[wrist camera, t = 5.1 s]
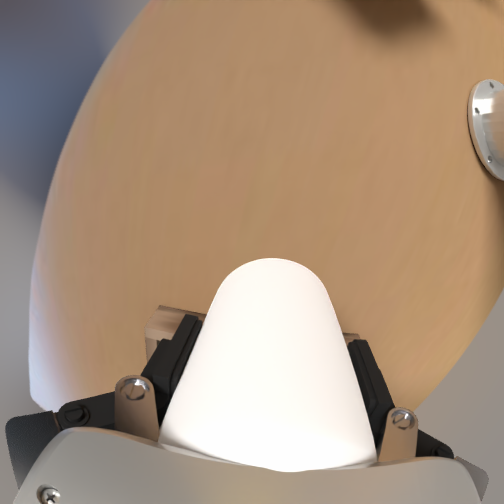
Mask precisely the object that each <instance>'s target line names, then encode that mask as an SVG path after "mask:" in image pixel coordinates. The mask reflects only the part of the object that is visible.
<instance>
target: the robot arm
mask: <svg viewBox="0 0 504 504" xmlns="http://www.w3.org/2000/svg"><path fill="white" fill-rule="evenodd" d="M468 122H469V127H470V133H471V137H472V140H473V144H474V146H475V149H476V152H477V154H478V156H479V158H480V160H481V162H482V163H483V165H484V166H485V168H486V169H487V170H488V171H489V172H490V173H491V175H493V176H494V177H495V178H497V179H499V180H502V181H504V85H503V84H502V83H500V82H498V81H496V80H492V79H487V80H483V81H480V82H479V83H477V84H476V85H475V86H474V87H473V89H472V91H471V93H470V97H469V101H468ZM202 323H203V322H202V320H199V318H198V316H194V315H190V314H185V316H184V317H183V319H182V321H181V323H180V325H179V326H178V328H177V330H176V332H175V334H174V335H173V337H172V339H171V340H169V339H165V338H163V339H162V340H161V341H160V343H159V344H158V346H157V348H156V349H155V351H154V353H153V354H152V356H151V358H150V360H149V361H148V363H147V365H146V366H145V368H144V370H143V372H142V373H141V375H140V376H138V375H130V376H126V377H123V378H122V379H120V380H119V381H118V382H117V384H116V387H115V391H114V392H110V393H106V394H102V395H98V396H94V397H90V398H85V399H81V400H77V401H72V402H69V403H66V404H64V405H63V406H62V407H61V408H60V409H59V412H55V413H53V411H52V410H51V411H46V412H41V413H36V414H30V415H24V416H18V417H13V418H11V419H10V420H9V421H8V422H7V423H6V426H5V433H6V439H7V444H8V449H9V454H10V459H11V463H12V467H13V471H14V475H15V479H16V482H17V485H18V489H19V492H18V493H17V495H16V498H15V499H14V502H13V503H12V504H481V501H482V499H483V496H484V493H485V491H486V488H487V484H488V480H489V478H488V475H487V473H486V472H485V471H484V470H483V469H480V468H479V467H477V466H475V465H473V464H471V463H469V462H467V461H465V460H464V459H462V458H460V457H458V456H457V457H456V458H454V454H453V452H452V450H451V448H450V447H449V446H447V445H446V444H444V443H442V442H440V441H438V440H437V439H434V438H433V437H431V436H430V435H428V434H426V433H424V432H422V431H421V430H419V429H418V419H417V417H416V415H415V414H414V413H413V412H412V411H410V410H409V409H406V408H403V407H397V408H395V406H394V403H393V401H392V398H391V396H390V393H389V391H388V388H387V385H386V383H385V381H384V378H383V376H382V373H381V371H380V369H379V368H378V366H377V364H376V361H375V359H374V356H373V354H372V352H371V349H370V347H369V345H368V342H367V341H366V340H360V339H354V340H353V341H352V342H349V343H348V345H347V349H348V352H349V355H350V358H351V362H352V365H353V368H354V371H355V374H356V378H357V381H358V384H359V388H360V391H361V394H362V398H363V401H364V405H365V408H366V412H367V416H368V420H369V423H370V427H371V431H372V435H373V439H374V444H375V449H376V454H377V462H372V463H360V464H356V465H351V466H345V467H339V468H331V469H319V470H305V471H300V472H281V471H275V470H271V469H267V468H264V467H256V466H250V465H245V464H240V463H235V462H230V461H226V460H222V459H219V458H215V457H211V456H208V455H205V454H202V453H199V452H195V451H191V450H186V449H182V448H178V447H174V446H170V445H166V444H162V443H159V442H158V440H159V436H160V432H159V430H160V427H161V425H162V422H163V419H164V417H165V414H166V412H167V409H168V407H169V404H170V402H171V399H172V397H173V394H174V392H175V390H176V388H177V385H178V383H179V380H180V378H181V375H182V373H183V371H184V368H185V366H186V363H187V361H188V359H189V356H190V354H191V351H192V349H193V347H194V344H195V342H196V339H197V337H198V335H199V332H200V330H201V328H202Z"/></svg>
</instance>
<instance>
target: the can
mask: <svg viewBox="0 0 504 504" xmlns="http://www.w3.org/2000/svg"><path fill="white" fill-rule="evenodd" d="M159 432H160V436H159V440H158V442H159V443H162V444H166V445H170V446H174V447H178V448H182V449H186V450H191V451H195V452H199V453H202V454H205V455H208V456H211V457H215V458H219V459H222V460H226V461H230V462H235V463H240V464H245V465H250V466H256V467H264V468H267V469H271V470H275V471H281V472H300V471H305V470H319V469H331V468H339V467H345V466H351V465H356V464H360V463H372V462H377V454H376V449H375V444H374V439H373V435H372V431H371V427H370V423H369V420H368V416H367V412H366V408H365V405H364V401H363V398H362V394H361V391H360V388H359V384H358V381H357V378H356V374H355V371H354V368H353V365H352V362H351V358H350V355H349V352H348V349H347V346H346V343H345V340H344V337H343V334H342V331H341V328H340V326H339V323H338V320H337V317H336V314H335V311H334V309H333V306H332V303H331V301H330V298H329V296H328V293H327V291H326V289H325V287H324V285H323V284H322V282H321V281H320V279H319V278H318V277H317V276H316V275H315V274H314V273H313V272H311V271H310V270H309V269H307V268H306V267H304V266H302V265H300V264H298V263H296V262H293V261H289V260H285V259H278V258H267V259H259V260H255V261H252V262H249V263H246V264H244V265H242V266H240V267H239V268H237V269H236V270H234V271H233V272H232V273H231V274H229V275H228V276H227V278H226V279H225V280H224V281H223V283H222V284H221V286H220V287H219V289H218V291H217V293H216V295H215V298H214V300H213V302H212V304H211V307H210V309H209V311H208V313H207V316H206V318H205V320H204V323H203V325H202V328H201V330H200V332H199V335H198V337H197V339H196V342H195V344H194V347H193V349H192V351H191V354H190V356H189V359H188V361H187V363H186V366H185V368H184V371H183V373H182V375H181V378H180V380H179V383H178V385H177V388H176V390H175V392H174V394H173V397H172V399H171V402H170V404H169V407H168V409H167V412H166V414H165V417H164V419H163V422H162V425H161V427H160V430H159Z"/></svg>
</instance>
